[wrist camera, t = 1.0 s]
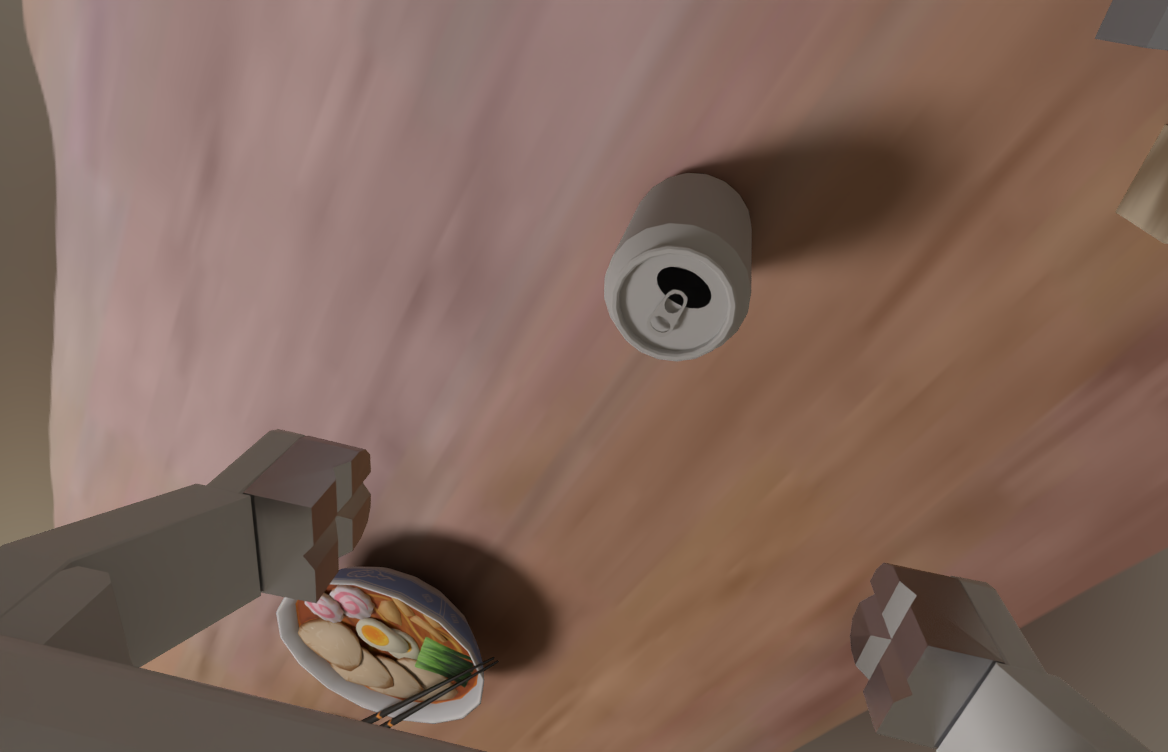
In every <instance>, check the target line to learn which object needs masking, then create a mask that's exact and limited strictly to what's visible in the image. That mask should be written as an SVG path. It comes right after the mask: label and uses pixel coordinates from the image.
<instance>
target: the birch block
mask: <svg viewBox="0 0 1168 752" xmlns="http://www.w3.org/2000/svg"><path fill="white" fill-rule="evenodd" d="M1115 212H1116V213H1117V214H1119V215H1121V216H1122V217H1124V218H1125V219H1127V220H1128V221H1130V222H1131V223H1133V224H1134V225H1136V226H1138V227H1139V228H1141V229H1142V230H1144V231H1145V232H1147V233H1148V234H1150V235H1151V236H1153V237H1155V238H1156V239H1158V240H1159V241H1161V242H1162V243H1166V244H1168V125H1165V126H1164V127H1163V129H1162V131H1161V133H1160V134H1159V136H1158V138H1157V140H1156V141H1155V143H1154V145H1153V147H1152V148H1151V150H1150V152H1149V154H1148V155H1147V157H1146V159H1145V161H1144V162H1143V164H1142V166H1141V168H1140V169H1139V171H1138V173H1137V175H1136V176H1135V178H1134V180H1133V182H1132V183H1131V185H1130V187H1129V189H1128V190H1127V192H1126V194H1125V196H1124V197H1123V199H1122V201H1121V203H1120V204H1119V206H1118V208H1117V210H1116V211H1115Z"/></svg>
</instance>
